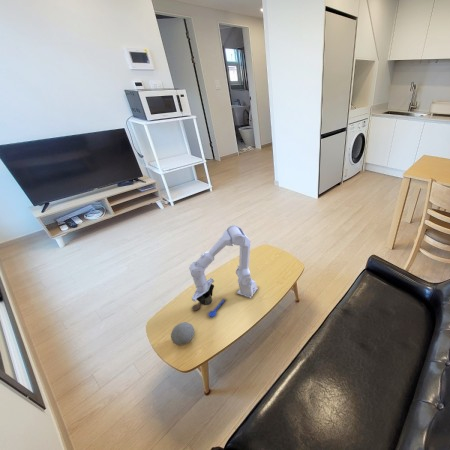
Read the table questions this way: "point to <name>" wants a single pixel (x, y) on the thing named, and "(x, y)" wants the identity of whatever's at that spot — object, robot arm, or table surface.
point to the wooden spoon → (196, 307)
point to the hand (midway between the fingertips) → (206, 299)
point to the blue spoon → (215, 309)
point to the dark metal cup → (207, 298)
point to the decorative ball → (182, 333)
